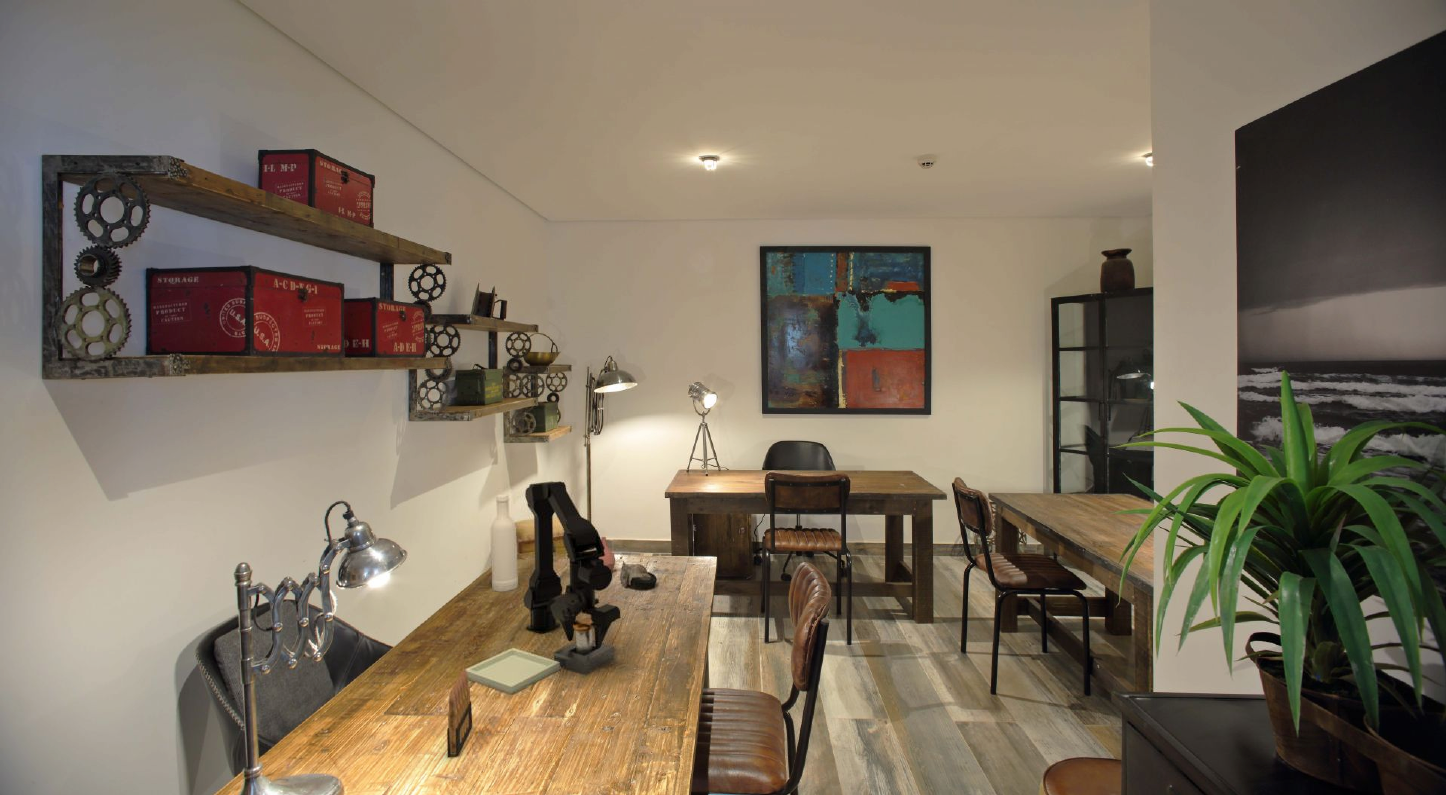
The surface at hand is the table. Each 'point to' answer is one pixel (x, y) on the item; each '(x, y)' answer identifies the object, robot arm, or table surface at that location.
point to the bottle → (504, 548)
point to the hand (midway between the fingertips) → (584, 644)
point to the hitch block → (584, 658)
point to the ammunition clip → (459, 715)
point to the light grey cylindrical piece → (583, 636)
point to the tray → (512, 670)
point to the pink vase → (607, 555)
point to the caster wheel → (637, 576)
